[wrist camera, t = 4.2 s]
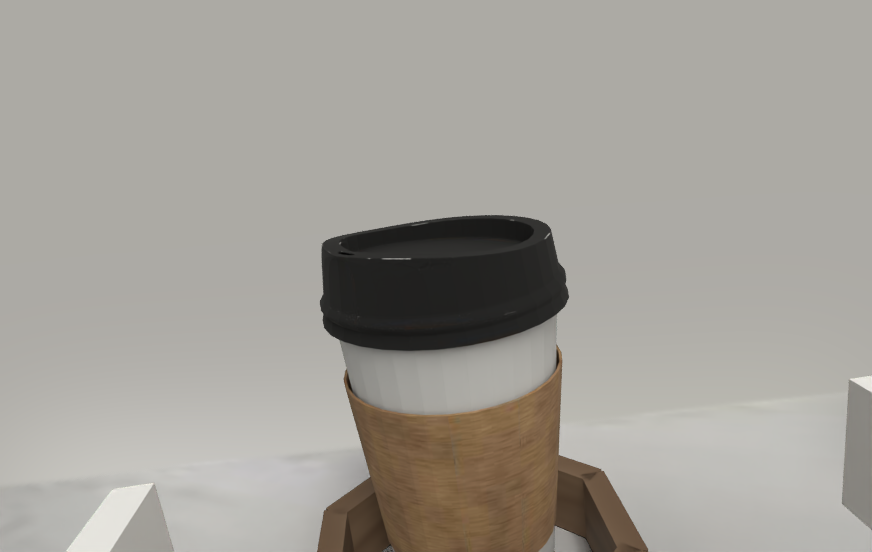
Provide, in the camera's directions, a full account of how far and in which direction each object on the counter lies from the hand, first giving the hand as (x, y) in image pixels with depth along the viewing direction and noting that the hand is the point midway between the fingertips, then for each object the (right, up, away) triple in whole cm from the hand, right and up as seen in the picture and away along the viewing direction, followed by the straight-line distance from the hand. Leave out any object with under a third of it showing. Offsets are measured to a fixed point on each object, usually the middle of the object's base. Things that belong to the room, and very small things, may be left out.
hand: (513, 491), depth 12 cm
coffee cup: (0, -9, +13) cm, 16 cm away
